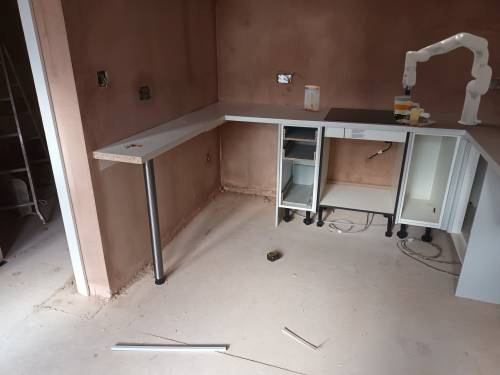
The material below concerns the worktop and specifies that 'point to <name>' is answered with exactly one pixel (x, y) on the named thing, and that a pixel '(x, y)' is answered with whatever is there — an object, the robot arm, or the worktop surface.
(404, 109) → the reusable coffee cup
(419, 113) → the ball valve
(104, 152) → the worktop surface
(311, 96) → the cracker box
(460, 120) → the robot arm
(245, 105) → the worktop surface
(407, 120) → the valve board
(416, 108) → the valve lever
